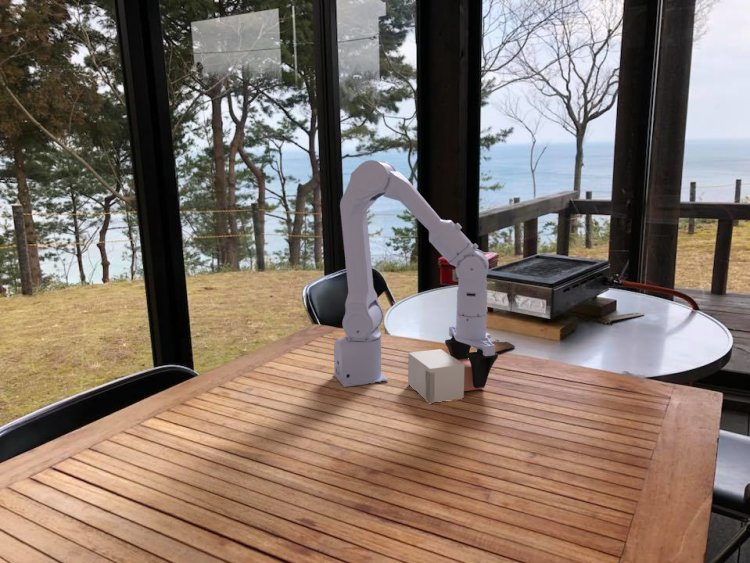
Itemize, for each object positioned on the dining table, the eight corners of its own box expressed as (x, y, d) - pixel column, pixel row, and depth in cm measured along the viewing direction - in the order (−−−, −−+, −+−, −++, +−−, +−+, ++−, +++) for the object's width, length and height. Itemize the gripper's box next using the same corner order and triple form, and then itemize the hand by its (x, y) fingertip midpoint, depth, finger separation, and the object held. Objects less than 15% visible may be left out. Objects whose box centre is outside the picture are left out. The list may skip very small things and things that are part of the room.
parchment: (496, 340, 142) (496, 336, 142) (524, 348, 134) (524, 345, 134) (418, 357, 130) (418, 354, 130) (444, 368, 121) (444, 364, 121)
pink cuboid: (433, 395, 104) (433, 371, 103) (423, 387, 108) (423, 364, 108) (484, 388, 108) (484, 364, 107) (472, 380, 112) (473, 357, 111)
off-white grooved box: (429, 404, 101) (430, 368, 100) (408, 385, 110) (408, 352, 109) (463, 399, 103) (464, 364, 102) (439, 381, 113) (440, 349, 111)
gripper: (510, 320, 101) (507, 390, 104) (471, 303, 115) (469, 366, 117) (476, 323, 99) (474, 395, 101) (440, 306, 112) (439, 370, 115)
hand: (469, 380), depth 109 cm, fingers open, 7 cm apart
